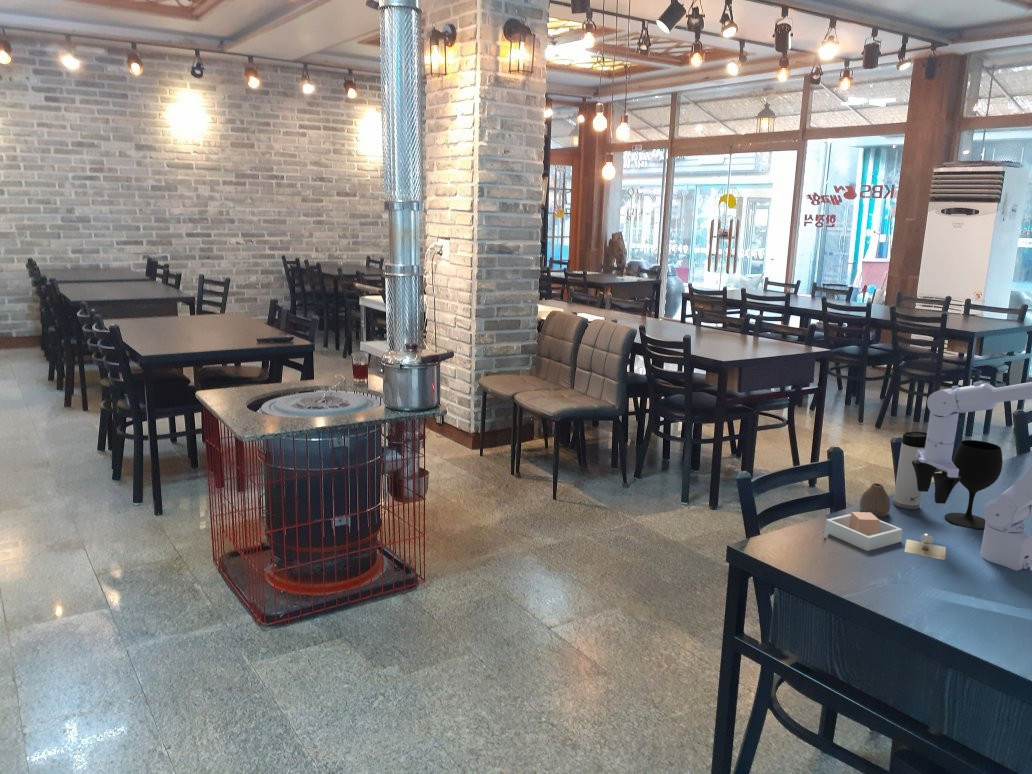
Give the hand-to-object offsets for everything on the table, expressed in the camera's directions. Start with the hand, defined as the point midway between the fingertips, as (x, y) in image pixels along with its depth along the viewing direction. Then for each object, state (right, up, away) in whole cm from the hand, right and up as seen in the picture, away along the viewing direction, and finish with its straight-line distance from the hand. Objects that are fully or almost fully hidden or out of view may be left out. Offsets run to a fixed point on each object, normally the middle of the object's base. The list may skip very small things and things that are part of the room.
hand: (931, 496), depth 185 cm
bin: (-17, -10, -1) cm, 20 cm away
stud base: (-5, -12, -7) cm, 15 cm away
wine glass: (+16, -8, +14) cm, 23 cm away
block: (-17, -10, -1) cm, 19 cm away
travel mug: (+6, -6, +24) cm, 25 cm away
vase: (-7, -7, +14) cm, 18 cm away
